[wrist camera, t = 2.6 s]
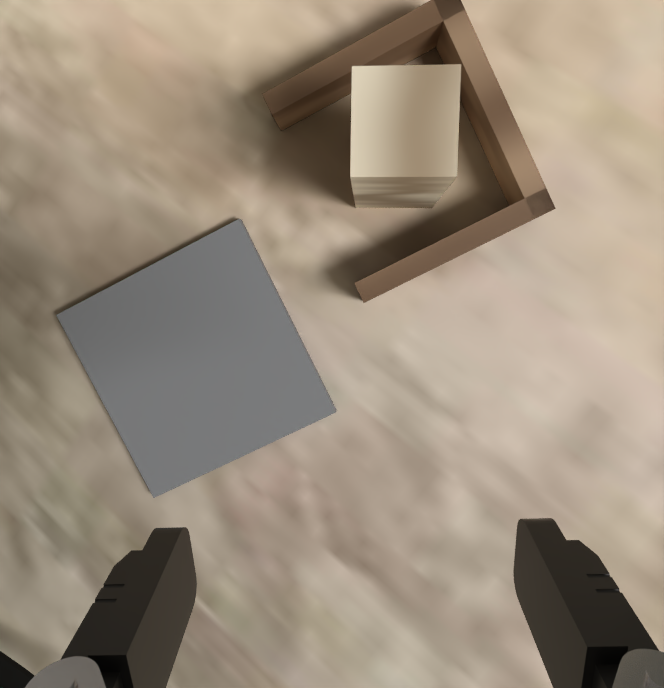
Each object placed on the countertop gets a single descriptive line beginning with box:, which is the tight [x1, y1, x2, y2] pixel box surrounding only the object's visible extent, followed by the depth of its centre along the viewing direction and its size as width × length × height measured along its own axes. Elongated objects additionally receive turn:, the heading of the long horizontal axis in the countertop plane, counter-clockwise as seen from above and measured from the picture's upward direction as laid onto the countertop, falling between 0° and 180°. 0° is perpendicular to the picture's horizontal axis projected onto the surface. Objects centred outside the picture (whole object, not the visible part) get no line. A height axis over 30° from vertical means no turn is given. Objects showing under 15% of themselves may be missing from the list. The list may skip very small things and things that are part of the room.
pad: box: [56, 219, 336, 498], centre depth 33 cm, size 13×13×1 cm
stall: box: [262, 0, 555, 303], centre depth 29 cm, size 12×11×3 cm
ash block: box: [350, 64, 461, 208], centre depth 27 cm, size 4×4×9 cm
